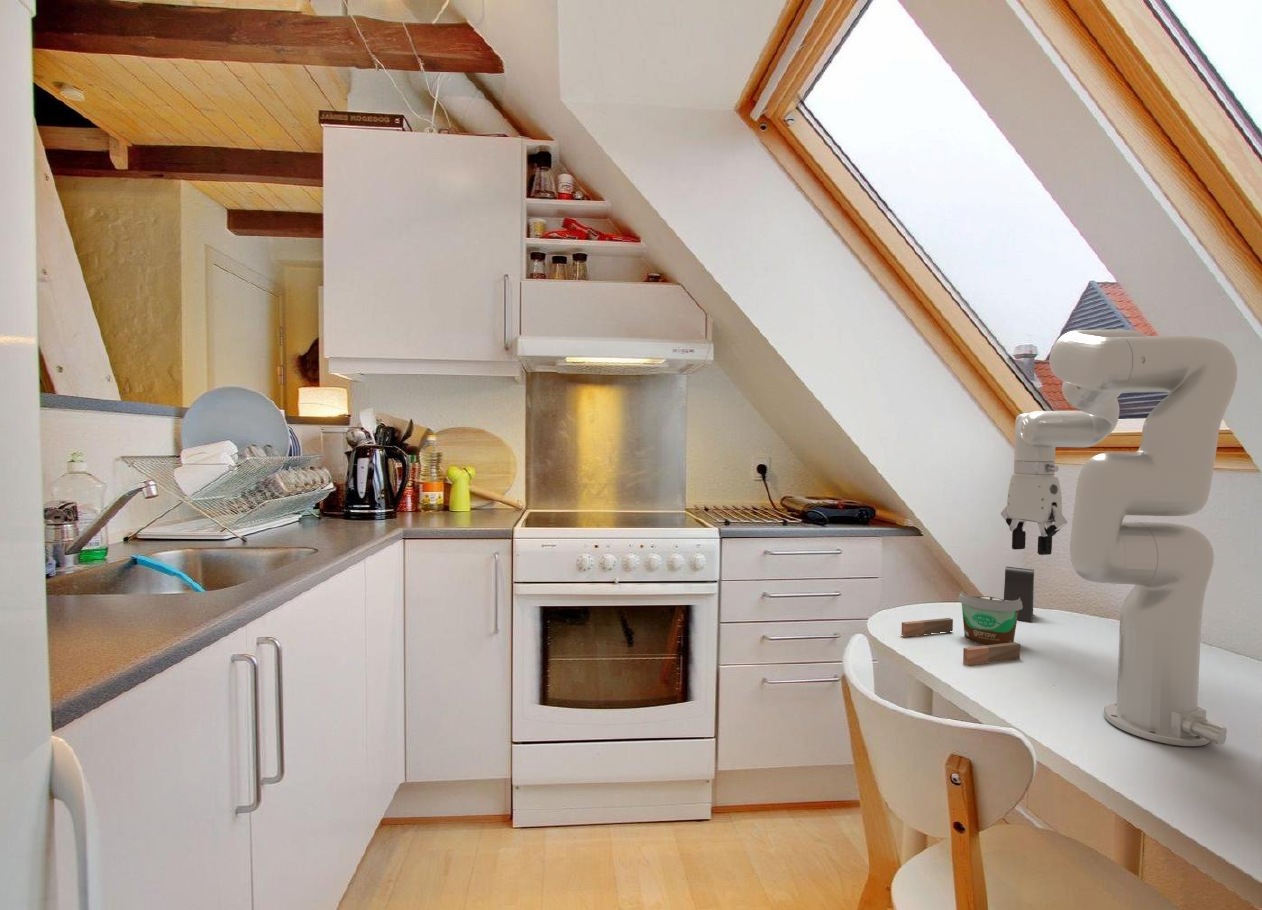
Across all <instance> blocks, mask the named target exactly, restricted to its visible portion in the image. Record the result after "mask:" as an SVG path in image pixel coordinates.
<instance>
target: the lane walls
mask: <svg viewBox="0 0 1262 910" xmlns="http://www.w3.org/2000/svg"><path fill="white" fill-rule="evenodd" d="M953 627H954V619H953V618H951V617H945V618H934V619H925V620H923V619H922V620H914V621H913V620H911V621H902V622H901V631H900V632H901V633H900V634H901V635H903V636H904V637H903V636H902V637H903V638H910V637H909V636H914V637H917V636H916V635H923V636H925V635H924V634H931V633H940V632H950V631H953ZM953 632H954V631H953ZM962 650H963V652H962V658H963V659H962V664H964V665H966V666H973V665H980V664H981V665H982V664H988V663H997V662H1004V661H1012V660H1020V655H1021V644H1020V643H1018V642H1015V641H1014V642H1012V643H1003V644H994V645H977V646H969V647H968V646H967V647H963V648H962Z"/></svg>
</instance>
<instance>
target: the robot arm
mask: <svg viewBox="0 0 1262 910" xmlns="http://www.w3.org/2000/svg"><path fill="white" fill-rule="evenodd" d="M1048 364H1049V368H1050V370H1051V373H1052V374H1053V375H1054V376H1055V378H1057V379H1058V380H1060V381H1063V382H1062V385H1061V392H1062V395H1063V398H1064V399H1065V401H1066V402H1067V403H1069V404H1070V405H1071V406H1072V407H1073V408H1075V409H1077V410H1036V411H1031V412H1025V413H1019V414H1018V415H1017V416H1016V419H1015V424H1014V427H1015V428H1014V456H1013V457H1014V458H1013V474H1011V478H1010V480H1009V485H1008V490H1007V491H1008V492H1007V499H1006V506H1005V507H1004V508H1003V510H1002V511H1001V512H1000V516H1002V518H1003V520H1005V522H1006V523H1005V524H1007V525H1008V527H1009V531H1011V549H1012V550H1024V549H1026V535H1027V532H1026V530H1025V531H1024V528H1025V526H1026V523H1027V522H1033V523H1037V525H1038V530H1039V533H1040V535H1038V536H1037V554H1038V555H1040V556H1045V555H1046V556H1047V555H1052V552H1053V551H1052V549H1053V537H1055V536H1056V534H1057V533H1058V532H1059V531H1060V530H1061V529H1062V528H1063V527H1065V526H1066V525H1067V524H1068V520H1067V519H1066V518H1065V516H1064V515H1063V500H1062V490H1061V484H1060V480H1059V477H1057V476H1055V473H1057V472H1059V469H1060V468H1059V466H1058V465H1056V462H1055V461H1056V448H1090V447H1093V446H1096V445H1097V444H1100V442H1102V441H1104V439H1106V438H1107V437H1108V436H1109V435H1110V434H1112V432H1113V431H1114V430H1115V429H1116V427H1117V424H1118V423H1119V418H1120V411H1121V409H1120V405H1119V404H1120V403H1119V401H1118V398H1119V397H1120V395H1121V394H1122V393H1168V395H1167V396H1166V397H1164V398H1162V399H1161V401H1159V402H1158V403H1157V405H1155V406H1154V408H1153V409H1152V410H1151V411H1150V412H1149V413H1148V415H1147V416H1146V418H1145V420H1144V422H1143V425H1142V432H1141V441H1140V445H1139V448H1138V449H1137V451H1134V452H1133V451H1132V452H1130V451H1129V452H1124V451H1122V452H1121V451H1120V452H1119V451H1118V452H1117V451H1114V452H1113V451H1110V452H1109V451H1108V452H1102V453H1098V454H1096V455H1093V456H1092V457H1090V458H1089V459H1088V460H1087V461H1086V462H1085V463H1084V465H1083V466H1082V468H1081V469H1080V472H1079V475H1078V478H1077V482H1076V487H1075V488H1076V490H1075V497H1074V505H1073V506H1074V507H1073V514H1072V515H1073V517H1072V521H1071V522H1072V523H1071V531H1070V532H1071V533H1070V540H1069V541H1070V542H1069V556H1070V563H1071V566H1072V567H1073V570H1074V571H1075V573H1076V574H1077V575H1078V576H1080V578H1082V579H1084V580H1087V581H1089V582H1092V583H1099V584H1113V585H1115V584H1116V585H1134V586H1133V588H1132V589H1131V590H1130V591H1129V593H1127V595H1126V597H1125V598H1124V600H1123V602H1122V604H1121V606H1120V607H1121V608H1120V613H1119V631H1118V633H1119V634H1118V635H1119V636H1118V657H1117V659H1118V661H1117V682H1116V683H1117V684H1116V685H1117V686H1116V687H1117V688H1116V702H1113V703H1109V704H1107V705H1105V706H1104V708H1103V717H1104V718H1105V719H1106V721H1108V722H1109V723H1110V724H1111V725H1113V726H1114V727H1116V728H1118V729H1120V730H1121V731H1124V732H1126V733H1128V734H1131V735H1133V736H1136V737H1139V738H1142V739H1146V740H1149V741H1152V742H1156V743H1161V744H1165V745H1172V746H1180V747H1201V746H1205V745H1207V744H1209V743H1210V742H1212V743H1214V744H1217V745H1219V746H1222V745H1224V744H1225V742H1226V741H1227V732H1228V730H1227V728H1226V727H1225V726H1222V725H1219V724H1217V723H1214V722H1210V721H1209V720H1208V719H1207V709H1205V708H1202V707H1199V706H1198V704H1199V703H1198V702H1199V683H1200V680H1199V679H1200V661H1201V658H1200V657H1201V656H1200V654H1201V636H1202V623H1203V609H1204V601H1205V595H1206V591H1207V588H1208V584H1209V580H1210V577H1211V574H1212V572H1213V571H1212V570H1213V567H1214V562H1215V561H1214V560H1215V553H1214V548H1213V545H1212V543H1211V542H1210V540H1209V539H1208V538H1207V536H1206V535H1204V534H1203V533H1202V532H1201V531H1199V530H1197V529H1195V528H1194V527H1190V526H1189V525H1188V526H1187V525H1184V524H1179V523H1170V522H1157V521H1156V522H1153V521H1124V518H1125V517H1126V516H1140V517H1141V516H1143V517H1144V516H1149V517H1151V516H1152V517H1183V516H1185V517H1186V516H1191V515H1195V514H1197V513H1199V512H1200V511H1202V510H1203V509H1204V507H1205V506H1206V504H1207V502H1208V499H1209V495H1210V493H1211V492H1210V491H1211V487H1212V480H1213V474H1214V468H1215V461H1216V455H1217V449H1218V442H1219V432H1220V428H1221V424H1222V421H1223V419H1224V416H1225V413H1226V411H1227V409H1228V406H1229V405H1230V402H1231V399H1232V398H1233V395H1234V393H1235V388H1236V384H1237V382H1238V381H1237V380H1238V367H1237V362H1236V359H1235V356H1234V354H1233V352H1232V351H1231V350H1230V348H1228V347H1227V345H1225V344H1224V343H1222V342H1220V341H1219V340H1215V339H1212V338H1209V337H1208V338H1207V337H1202V336H1201V337H1200V336H1192V335H1191V336H1190V335H1189V336H1188V335H1157V336H1156V335H1154V336H1153V335H1152V336H1148V335H1147V334H1145V333H1143V332H1142V331H1137V330H1133V329H1120V328H1119V329H1117V328H1115V329H1079V330H1078V329H1077V330H1076V329H1075V330H1071V331H1068V332H1066V333H1064V334H1063V335H1061V336H1060V337H1059V338H1058V339H1057V340H1056V341H1055V343H1054V344H1053V346H1052V348H1051V350H1050V354H1049V363H1048Z"/></svg>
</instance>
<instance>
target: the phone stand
mask: <svg viewBox="0 0 1262 910" xmlns="http://www.w3.org/2000/svg"><path fill="white" fill-rule="evenodd" d="M1004 568H1005V570H1004V585H1003V587H1004V588H1003V589H1004V590H1003V600H1009V601H1014V600H1018V599H1019V598H1020V601H1022V606H1023V608H1022V609H1021V610H1019V611H1018V617H1017V620H1018V621H1017V622H1024V621H1025V623H1030V622H1031V621H1033V617H1032V616H1034V591H1035V590H1034V585H1035V584H1034V583H1035V570H1034V569H1029V568H1023V567H1021V568H1019V567H1013V566H1005V567H1004ZM1031 623H1032V622H1031Z"/></svg>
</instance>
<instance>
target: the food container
mask: <svg viewBox="0 0 1262 910" xmlns="http://www.w3.org/2000/svg"><path fill="white" fill-rule="evenodd" d="M957 600H958V602H959V603H960V604H961V611H962V621H963V623H962V624H963V635H964V638H965V637H966V640H968V641H971V642H972V641H973V643H975V642H976V644H979V645H981V646H985V645H994V644H1003V643H1012V642H1015V636H1016V629H1017V624H1018V621H1017V617H1018V611H1019V610H1021V609H1022V608H1023V606H1022V601H1020V598H1019V599H1018V600H1014V601H1009V600H1004V598H1003V599H1001V598H999V597H994V596H973V595H968V594H966V593H964V592H963V591H962V590H961V591H960V593H959V595H958V598H957Z"/></svg>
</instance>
